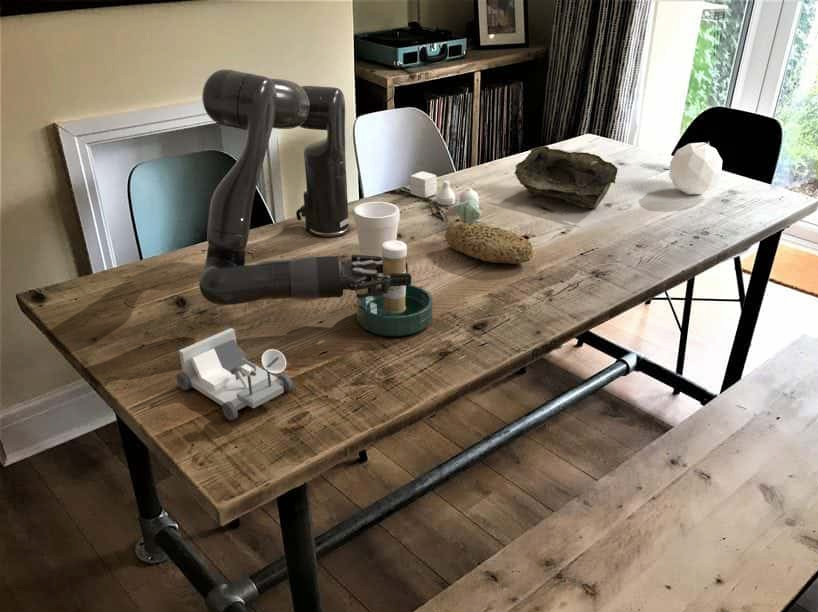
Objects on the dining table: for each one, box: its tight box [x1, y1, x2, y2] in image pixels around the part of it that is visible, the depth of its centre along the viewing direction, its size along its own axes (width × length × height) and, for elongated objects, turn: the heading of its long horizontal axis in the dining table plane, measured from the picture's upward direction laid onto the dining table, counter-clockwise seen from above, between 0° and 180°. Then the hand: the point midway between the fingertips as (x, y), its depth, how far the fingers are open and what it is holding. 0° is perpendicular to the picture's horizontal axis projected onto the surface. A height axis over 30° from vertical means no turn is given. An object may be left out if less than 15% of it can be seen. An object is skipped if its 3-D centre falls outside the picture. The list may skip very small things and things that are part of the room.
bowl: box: [356, 284, 434, 337], centre depth 150 cm, size 14×14×4 cm
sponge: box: [444, 221, 535, 265], centre depth 176 cm, size 13×8×20 cm
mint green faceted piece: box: [452, 200, 483, 224], centre depth 191 cm, size 8×4×7 cm, turn 56°
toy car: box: [176, 327, 294, 422], centre depth 126 cm, size 18×10×12 cm
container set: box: [409, 171, 480, 209], centre depth 205 cm, size 20×5×6 cm, turn 54°
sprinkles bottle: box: [382, 239, 408, 314], centre depth 146 cm, size 5×5×13 cm
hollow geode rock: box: [514, 145, 619, 210], centre depth 207 cm, size 28×13×15 cm
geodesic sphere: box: [669, 141, 723, 195], centre depth 215 cm, size 15×14×14 cm
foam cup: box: [353, 201, 401, 262], centre depth 168 cm, size 10×9×13 cm
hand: (408, 273), depth 146 cm, fingers closed on sprinkles bottle, 4 cm apart
